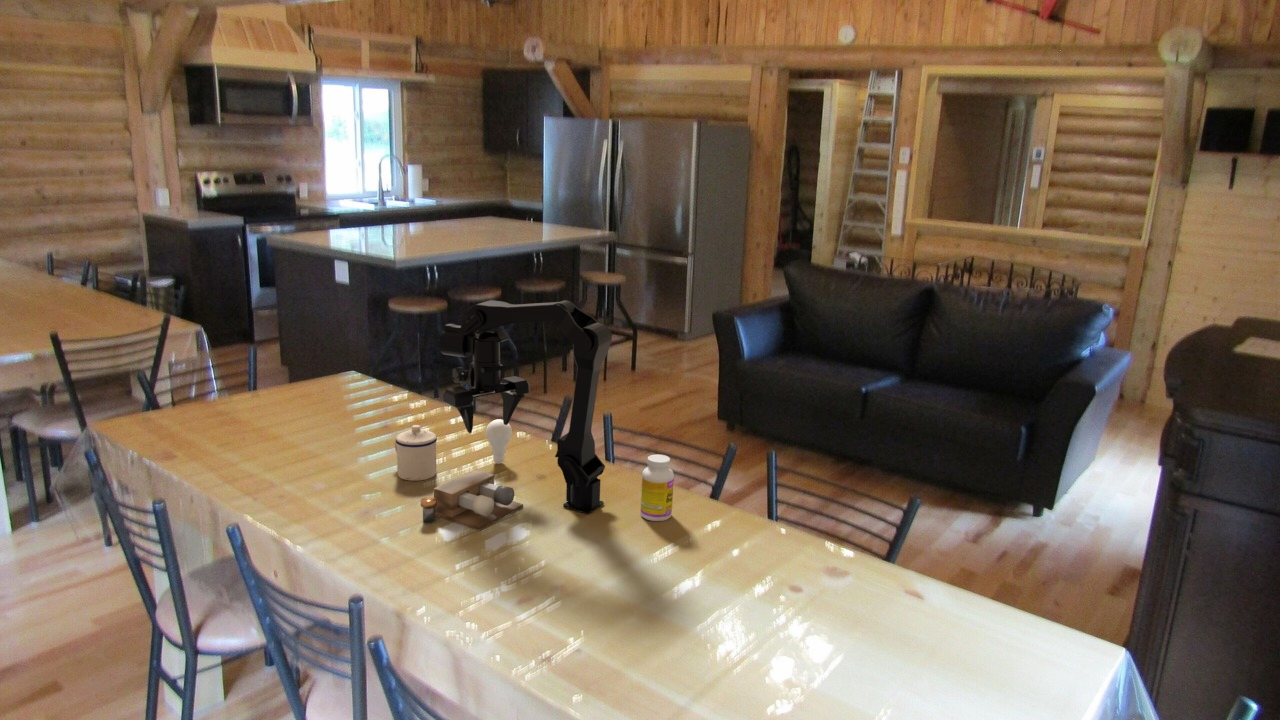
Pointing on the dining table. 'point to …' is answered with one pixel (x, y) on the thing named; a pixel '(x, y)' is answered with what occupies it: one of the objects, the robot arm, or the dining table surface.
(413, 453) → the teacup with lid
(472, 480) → the walnut mount
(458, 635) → the dining table surface
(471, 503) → the cream knob
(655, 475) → the supplement bottle
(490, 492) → the graphite knob
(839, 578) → the dining table surface
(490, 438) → the lightbulb
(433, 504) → the copper domed knob
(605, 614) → the dining table surface
